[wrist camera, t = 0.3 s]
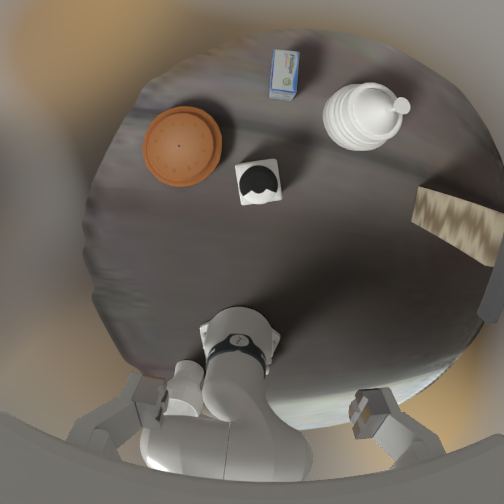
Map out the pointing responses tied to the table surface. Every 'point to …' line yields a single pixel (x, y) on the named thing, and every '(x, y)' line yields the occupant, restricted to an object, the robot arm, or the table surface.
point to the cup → (185, 390)
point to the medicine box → (284, 74)
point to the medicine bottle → (258, 181)
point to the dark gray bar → (494, 291)
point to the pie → (182, 146)
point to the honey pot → (363, 116)
